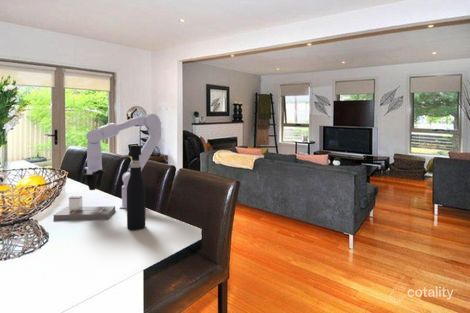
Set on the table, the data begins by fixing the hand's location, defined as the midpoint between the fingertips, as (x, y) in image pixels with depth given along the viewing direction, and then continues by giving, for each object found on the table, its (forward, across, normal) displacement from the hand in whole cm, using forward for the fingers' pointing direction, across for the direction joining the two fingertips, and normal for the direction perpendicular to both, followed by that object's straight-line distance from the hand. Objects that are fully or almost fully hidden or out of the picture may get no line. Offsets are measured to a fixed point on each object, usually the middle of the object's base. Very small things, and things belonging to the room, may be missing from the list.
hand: (95, 188), depth 133 cm
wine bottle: (+10, +26, +22) cm, 35 cm away
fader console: (+9, +9, -1) cm, 13 cm away
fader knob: (+7, +9, -5) cm, 12 cm away
